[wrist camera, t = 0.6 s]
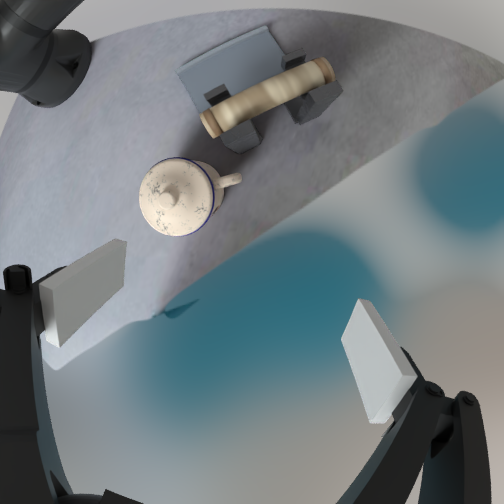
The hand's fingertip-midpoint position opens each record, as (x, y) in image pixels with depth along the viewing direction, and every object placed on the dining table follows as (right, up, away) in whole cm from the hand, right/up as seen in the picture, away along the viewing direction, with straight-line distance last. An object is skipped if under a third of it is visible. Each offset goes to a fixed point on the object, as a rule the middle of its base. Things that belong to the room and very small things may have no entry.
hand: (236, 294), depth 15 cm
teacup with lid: (-6, +11, +24) cm, 28 cm away
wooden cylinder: (+2, +19, +12) cm, 22 cm away
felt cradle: (-1, +27, +19) cm, 33 cm away
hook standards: (+3, +21, +21) cm, 30 cm away
